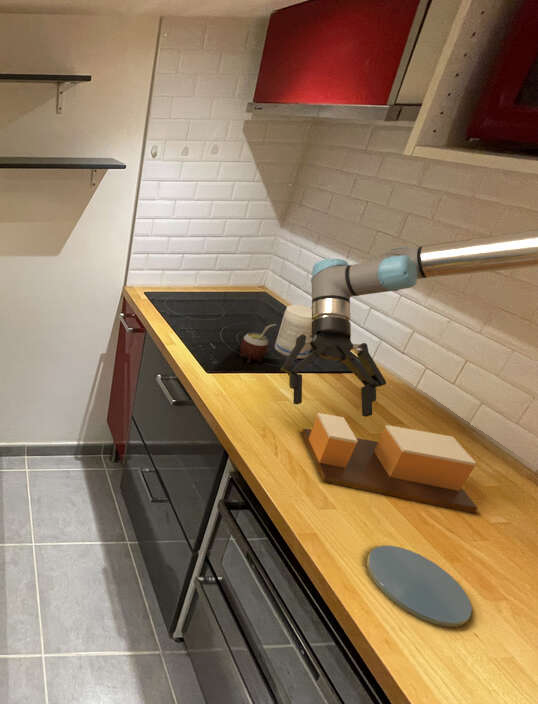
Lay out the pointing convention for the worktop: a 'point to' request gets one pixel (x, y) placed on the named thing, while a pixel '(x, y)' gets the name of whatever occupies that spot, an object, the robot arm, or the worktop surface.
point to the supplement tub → (294, 330)
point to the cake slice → (332, 440)
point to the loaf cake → (424, 457)
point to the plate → (419, 586)
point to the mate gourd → (254, 346)
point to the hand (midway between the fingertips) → (331, 409)
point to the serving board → (386, 479)
